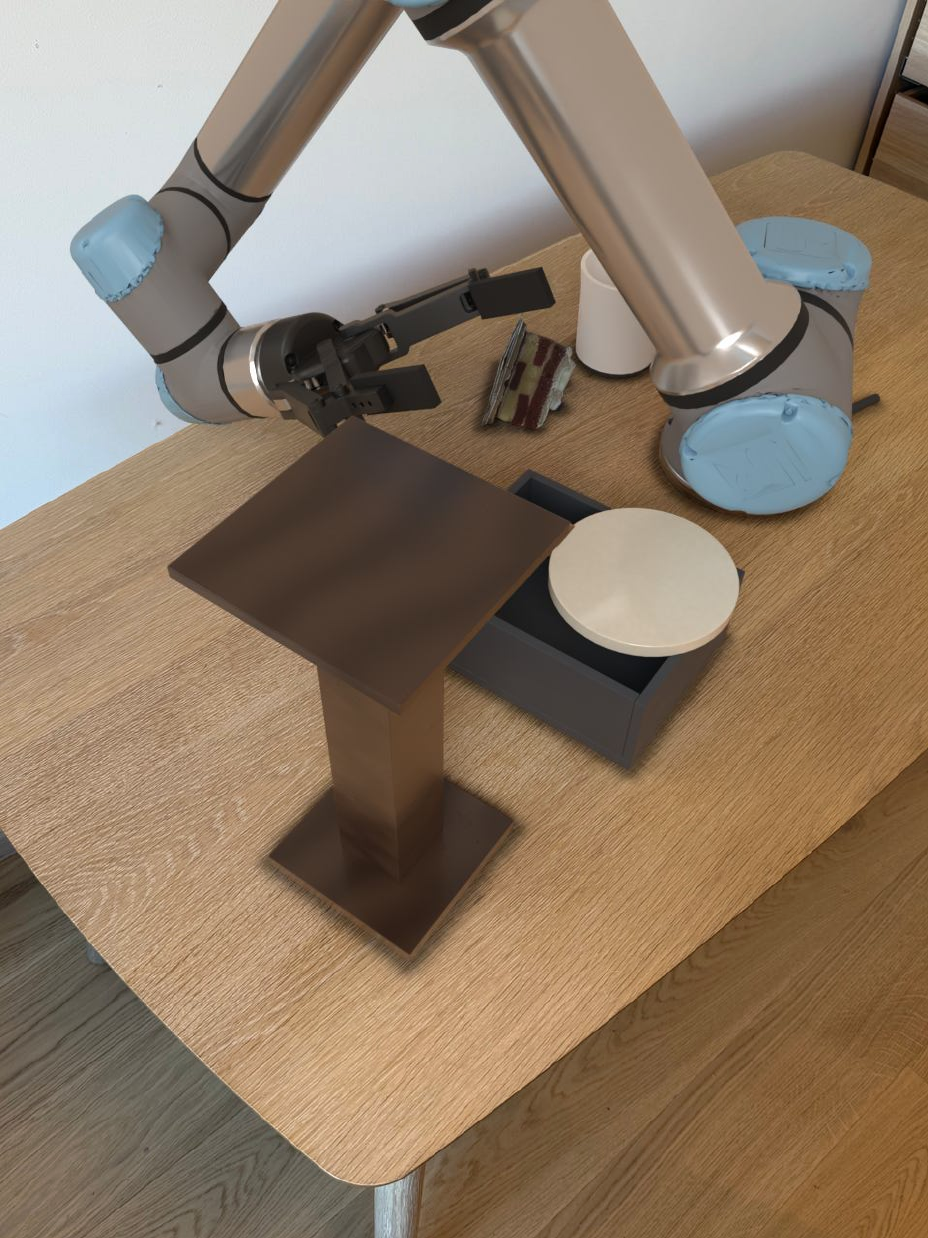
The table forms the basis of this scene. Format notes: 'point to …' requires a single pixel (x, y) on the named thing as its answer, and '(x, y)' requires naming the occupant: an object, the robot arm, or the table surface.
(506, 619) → the tub
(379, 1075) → the table surface
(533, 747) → the table surface
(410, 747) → the stand
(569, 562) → the round paddle with handle
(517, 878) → the table surface
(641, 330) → the mug
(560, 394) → the chocolate cake
